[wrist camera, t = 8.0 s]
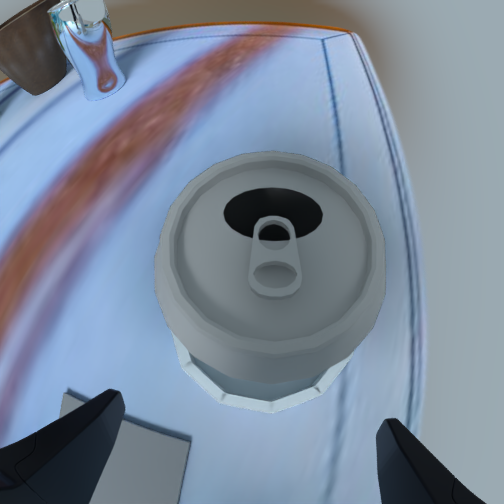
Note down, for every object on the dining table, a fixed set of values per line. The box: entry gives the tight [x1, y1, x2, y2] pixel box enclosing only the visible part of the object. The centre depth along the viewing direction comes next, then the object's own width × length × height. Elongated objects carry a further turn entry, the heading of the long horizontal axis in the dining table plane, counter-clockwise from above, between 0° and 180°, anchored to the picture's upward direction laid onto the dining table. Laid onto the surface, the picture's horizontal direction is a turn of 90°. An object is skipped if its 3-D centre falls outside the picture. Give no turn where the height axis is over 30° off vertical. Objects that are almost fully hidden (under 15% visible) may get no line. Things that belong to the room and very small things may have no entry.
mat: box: [59, 393, 191, 504], centre depth 14 cm, size 10×10×1 cm
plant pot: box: [0, 0, 66, 95], centre depth 28 cm, size 15×15×16 cm
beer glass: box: [47, 0, 126, 101], centre depth 25 cm, size 7×7×15 cm
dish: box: [171, 331, 354, 414], centre depth 18 cm, size 11×11×2 cm
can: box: [154, 151, 386, 384], centre depth 13 cm, size 8×8×12 cm
